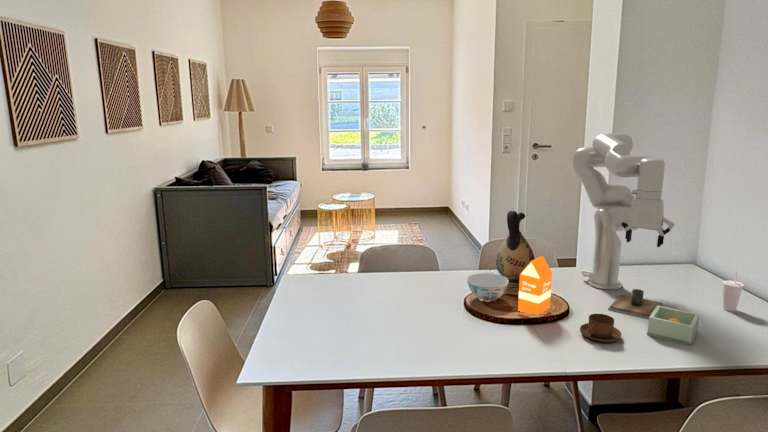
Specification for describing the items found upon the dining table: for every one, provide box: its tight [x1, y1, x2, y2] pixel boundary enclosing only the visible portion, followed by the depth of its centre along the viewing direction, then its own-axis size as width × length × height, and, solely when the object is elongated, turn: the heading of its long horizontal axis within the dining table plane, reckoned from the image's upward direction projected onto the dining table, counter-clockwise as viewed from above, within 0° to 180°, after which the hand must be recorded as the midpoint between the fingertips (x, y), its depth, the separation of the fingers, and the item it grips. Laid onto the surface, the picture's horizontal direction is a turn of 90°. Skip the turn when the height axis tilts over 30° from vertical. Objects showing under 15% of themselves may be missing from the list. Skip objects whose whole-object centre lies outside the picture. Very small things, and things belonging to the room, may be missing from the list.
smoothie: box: [721, 270, 745, 313], centre depth 181 cm, size 6×6×14 cm
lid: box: [609, 288, 664, 317], centre depth 184 cm, size 14×14×6 cm
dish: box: [646, 305, 701, 347], centre depth 164 cm, size 12×12×6 cm
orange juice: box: [517, 255, 553, 315], centre depth 179 cm, size 8×9×20 cm
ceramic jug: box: [495, 210, 536, 286], centre depth 208 cm, size 17×15×30 cm
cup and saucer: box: [579, 313, 622, 343], centre depth 162 cm, size 12×12×6 cm
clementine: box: [668, 318, 680, 323], centre depth 164 cm, size 4×4×4 cm
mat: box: [607, 304, 666, 320], centre depth 184 cm, size 15×15×1 cm
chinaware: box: [466, 272, 509, 300], centre depth 193 cm, size 15×15×8 cm
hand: (643, 243), depth 180 cm, fingers open, 9 cm apart
